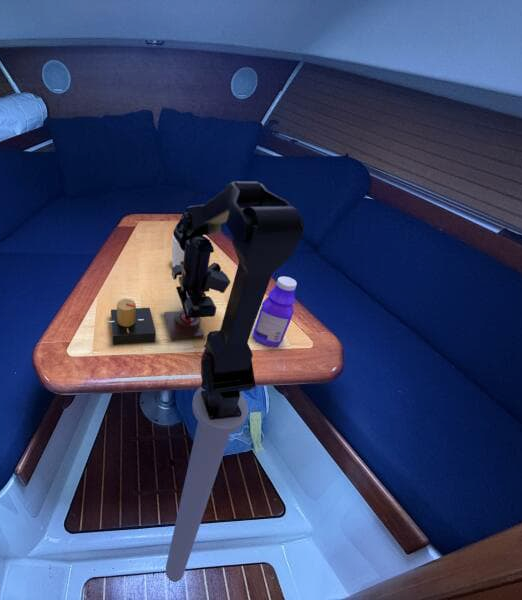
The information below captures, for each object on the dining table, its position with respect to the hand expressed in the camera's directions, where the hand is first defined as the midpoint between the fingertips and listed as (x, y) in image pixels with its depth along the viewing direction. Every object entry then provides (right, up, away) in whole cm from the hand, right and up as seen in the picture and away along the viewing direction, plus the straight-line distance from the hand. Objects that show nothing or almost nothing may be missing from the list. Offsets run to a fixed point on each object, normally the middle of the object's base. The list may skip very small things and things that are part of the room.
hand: (187, 317), depth 80 cm
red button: (0, -1, +1) cm, 2 cm away
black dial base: (-14, -3, -1) cm, 14 cm away
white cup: (0, +16, +28) cm, 32 cm away
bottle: (+20, -6, 0) cm, 20 cm away
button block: (-1, -3, +2) cm, 3 cm away
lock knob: (-15, -1, -3) cm, 16 cm away
